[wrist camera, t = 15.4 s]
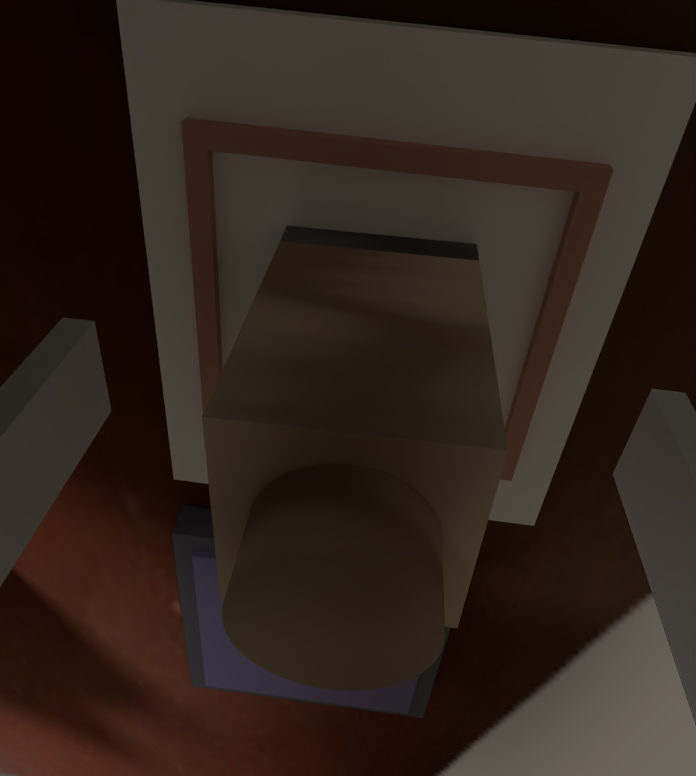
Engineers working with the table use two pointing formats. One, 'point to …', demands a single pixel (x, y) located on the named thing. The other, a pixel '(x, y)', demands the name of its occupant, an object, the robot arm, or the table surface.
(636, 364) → the table surface
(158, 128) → the print sheet
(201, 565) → the ink pad
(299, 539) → the stamp
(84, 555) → the table surface
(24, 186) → the table surface
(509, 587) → the table surface
